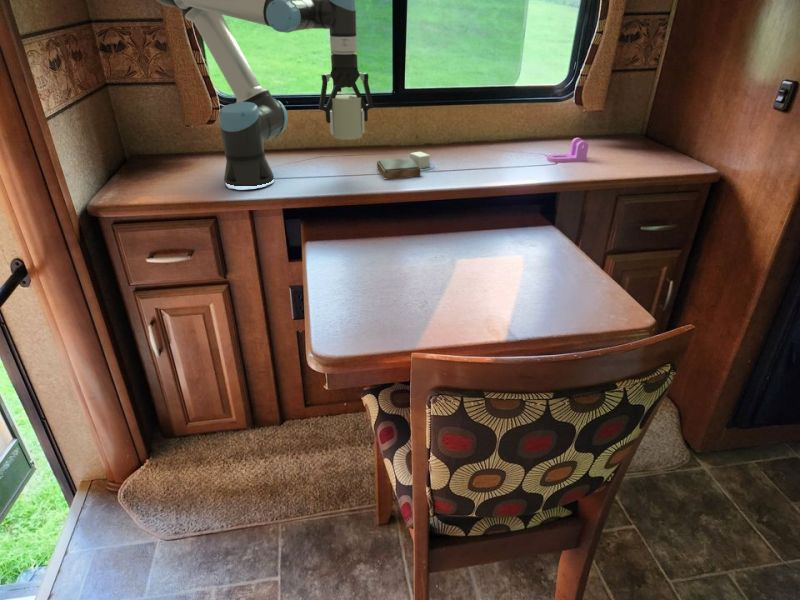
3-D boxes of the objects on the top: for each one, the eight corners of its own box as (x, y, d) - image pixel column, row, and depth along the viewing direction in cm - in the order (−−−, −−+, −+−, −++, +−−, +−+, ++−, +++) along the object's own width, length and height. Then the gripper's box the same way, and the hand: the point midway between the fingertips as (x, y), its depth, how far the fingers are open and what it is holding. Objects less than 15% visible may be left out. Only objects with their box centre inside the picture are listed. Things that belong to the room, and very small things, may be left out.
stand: (384, 179, 166) (384, 170, 165) (377, 168, 176) (376, 159, 175) (420, 176, 169) (420, 167, 167) (411, 165, 179) (411, 157, 177)
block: (419, 168, 176) (419, 157, 174) (410, 164, 181) (410, 153, 179) (429, 166, 178) (429, 155, 176) (419, 162, 182) (420, 151, 180)
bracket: (578, 157, 186) (582, 137, 183) (585, 161, 181) (589, 141, 178) (544, 158, 185) (546, 138, 181) (550, 163, 180) (552, 142, 176)
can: (348, 141, 156) (346, 99, 149) (326, 136, 160) (323, 95, 154) (368, 135, 162) (367, 94, 156) (346, 131, 167) (344, 91, 160)
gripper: (307, 54, 144) (313, 137, 155) (383, 53, 148) (384, 134, 160) (305, 51, 150) (311, 131, 162) (378, 50, 154) (379, 128, 166)
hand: (347, 132), depth 161 cm, fingers closed on can, 9 cm apart
